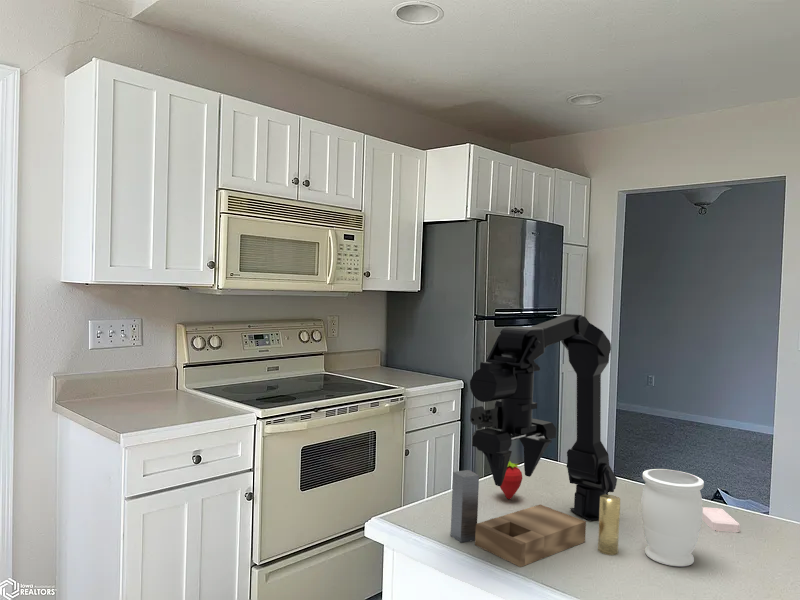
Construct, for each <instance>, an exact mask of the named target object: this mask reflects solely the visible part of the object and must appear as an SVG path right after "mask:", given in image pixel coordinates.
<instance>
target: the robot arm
mask: <svg viewBox="0 0 800 600" xmlns="http://www.w3.org/2000/svg"><path fill="white" fill-rule="evenodd" d="M559 342H561V344H562V345H563V346H564V348H565V350H567V356H568V362H569V364H570V365H571V367H572V369H573V371H574V372H575V374H576V441H575V443H574V444H573V445H572V446H571V448H568V449H567V452H566V457H567V462H566V469H567V474H568V480H569V484H574V485H575V486H576V487H575V492H574V497H573V498H574V500H573V501H574V503H573V507H571V508H570V511H571V513H574V514H576V515H578V516H580V517H582V518H584V519H585V520H588V521H597V520H598V521H599V509H600V496H601V495H609V493H615V489H616V487H617V482H618V478H617V476H616V475H615V473H614V471H613V469H612V467H611V466H610V458H609V457H610V456H609V453H608V451H607V449H606V447H605V446H604V444H603V442H602V439H601V419H602V418H601V417H602V416H601V415H602V414H601V413H602V412H601V401H602V400H601V395H602V394H601V393H602V391H601V390H602V387H601V384H602V383H601V381H602V380H601V377H602V373H603V372H604V369H605V368H606V367H607V365H608V364H609V360H610V353H611V350H612V344H611V341H610V340H609V338H608V337H607V335H606V334H605V332H604V331H603V330H602V329H600V328H599V327H597V326H595V325H594V324H592V323H591V322H590V321H589V319H588V318H586V317H585V316H583V315H582V314H572V313H571V314H570V313H564V314H561V315H559V316H557V317H555V318H552V319H549V320H547V321H544V322H540V323H538V324H535V325H532V326H508V327H507V326H505V327H503V328H502V329H501V330H500V332H499V335H498V336H497V338H496V340H495V342H494V344H493V346H492V348H491V350H490V352H489V354H488V357H487V358H486V360H485V361H481V362H480V363H479V368H478V369H477V370H475V372H474V373H473V374H472V376H471V379H470V380H469V387H470V390H471V394H472V396H473V397H474V398H475V399H476V400H477V401H479V402H481V403H486V402H493V401H494V408H491V409H485V408H484V406H474V407H472V408H470V414H469V418H470V419H469V421H470V423H471V424H472V425H473V426H476V430H475V431H474V432H473V433H472V434H471V446H472V447H475V448H476V450H477V451H479V452H482V453H483V455H484V456H485V458H486V459H487V462H488V465H489V468H490V470H491V471H490V472H491V474H492V478H493V481H494V485H495V486H497V487H500V486H501V485H502V483H503V480H504V477H505V473H506V470H507V466H508V463H509V462H510V461H511V456H512V450H510V449H511V447H512V441H516V440H519V441H520V443H521V444H522V446H523V464H524V465H523V469H524V475H525V477H529V478H530V477H532V474H533V473H534V471H535V469H536V467H537V466H538V464H539V462H540V460H541V458H542V456H543V455H544V453H545V452H546V450H547V449H548V446H549V445H550V444H551V443H552V440H553V439H556V437H557V427H556V425H555V424H554V423H553V422H551V421H546V420H542V419H537V418H533V410H535V409H536V410H537V409H538V402H534V399H533V398H534V397H533V396H534V376H535V372H540V370H541V367H540V366H539V364H537V363H536V362H535V360H537V359H538V358H540V357H541V356H542V355H543V354H545V351H546V350H545V349H546V348H547V347H550V346H552V345H554V344H557V343H559Z"/></svg>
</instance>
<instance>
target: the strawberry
mask: <svg viewBox="0 0 800 600" xmlns="http://www.w3.org/2000/svg"><path fill="white" fill-rule="evenodd" d="M519 465H520V463H513V462H512V461H509V463H508V466H507V470H506V473H505V477H504V480H503V483H502V485H501V486H499V488H500V489H501V491H502V493H503V494H504V496H505V497H506V499H507V500H511V499H513V497H514V496H515V494H516V493H517V492H518V490H519V488H520V487H521V484H522V481H523V472H522V471H521V470H520V466H519Z"/></svg>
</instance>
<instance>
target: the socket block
mask: <svg viewBox="0 0 800 600" xmlns="http://www.w3.org/2000/svg"><path fill="white" fill-rule="evenodd" d="M586 527H587V521H586V520H583V519H581V518H579V517H576V516H572V515H570V514H567V513H564V512H561V511H559V510H557V509H553V508H551V507H548V506H545V505H543V504H537V505H533V506H530V507H527V508H524V509H520V510H517V511H514V512H511V513H507V514H505V515H501V516H498V517H493V518H490V519H488V520H487V519H486V520H485V521H480V522H477V524H476V532H475V540H474V546H476V547H478V548H480V549H482V550H484V551H486V552H489V553H491V554H493V555H494V556H497V557H499V558H502V559H503V560H505V561H506V562H509V563H511V564H513V565H515V566H517V567H519V568H523V567H525V566H528V565H530V564H532V563H535V562H537V561H540V560H542V559H543V560H544V559H545V558H548V557H550V556H552V555H556V554H559V553H560V552H563V551H566V550H568V549H570V548H571V549H572V548H573V547H576V546H578V545H581V544H583V543H586V531H587V530H586V529H587V528H586ZM555 553H556V554H555Z"/></svg>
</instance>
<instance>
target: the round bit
mask: <svg viewBox="0 0 800 600" xmlns="http://www.w3.org/2000/svg"><path fill="white" fill-rule="evenodd" d="M620 510H621V498H620V497H618V496H617V495H613V494H608V495H601V496H600V509H599V519H598V532H597V533H598V537H597V551H598V552H599V553H601V554H603V555H607V556H608V555H609V556H616V555H618V553H619V539H620V537H619V536H620V516H621V511H620Z"/></svg>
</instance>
